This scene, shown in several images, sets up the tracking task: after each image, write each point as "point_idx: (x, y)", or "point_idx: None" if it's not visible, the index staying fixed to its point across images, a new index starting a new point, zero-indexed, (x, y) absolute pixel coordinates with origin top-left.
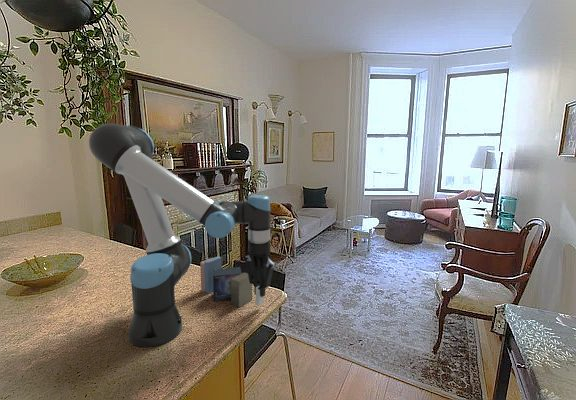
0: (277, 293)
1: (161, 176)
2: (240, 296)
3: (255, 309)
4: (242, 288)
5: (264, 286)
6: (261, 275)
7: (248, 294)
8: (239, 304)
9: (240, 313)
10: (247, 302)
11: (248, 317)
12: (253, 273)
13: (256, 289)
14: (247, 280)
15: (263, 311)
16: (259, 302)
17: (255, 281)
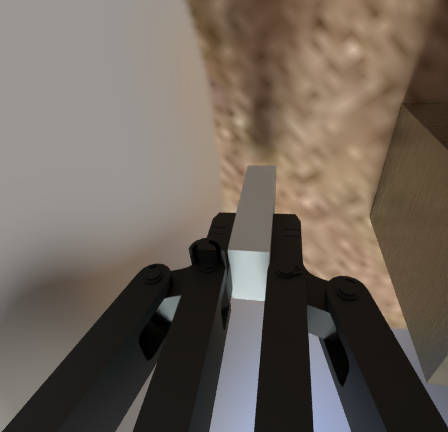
0: None
1: None
2: (426, 154)
3: (284, 153)
4: (443, 215)
5: (146, 278)
6: (141, 408)
7: (391, 221)
8: (407, 115)
9: (344, 51)
10: (380, 182)
11: (259, 52)
12: (309, 424)
13: (259, 240)
14: (439, 312)
15: (232, 163)
16: (244, 181)
17: (272, 309)
